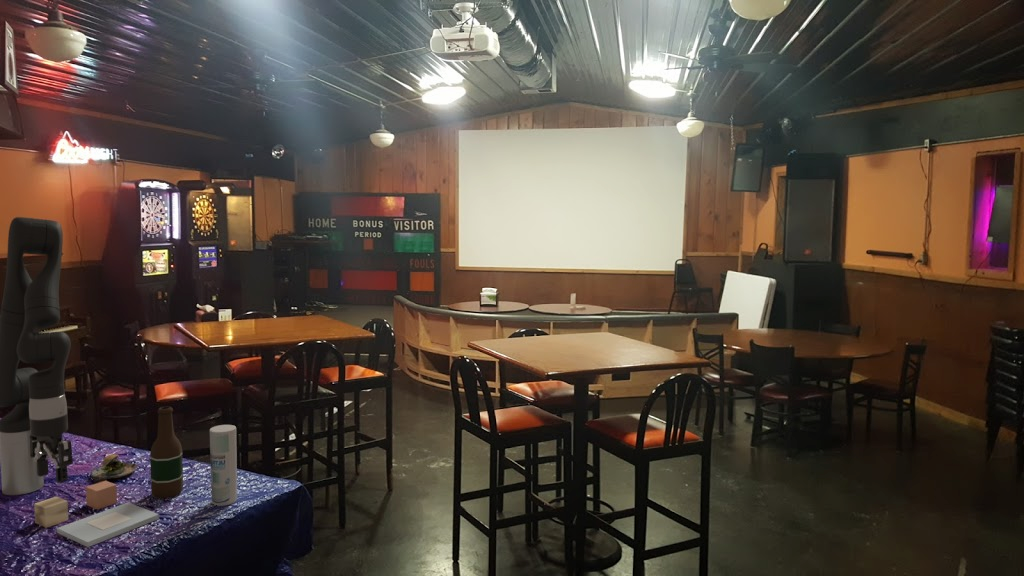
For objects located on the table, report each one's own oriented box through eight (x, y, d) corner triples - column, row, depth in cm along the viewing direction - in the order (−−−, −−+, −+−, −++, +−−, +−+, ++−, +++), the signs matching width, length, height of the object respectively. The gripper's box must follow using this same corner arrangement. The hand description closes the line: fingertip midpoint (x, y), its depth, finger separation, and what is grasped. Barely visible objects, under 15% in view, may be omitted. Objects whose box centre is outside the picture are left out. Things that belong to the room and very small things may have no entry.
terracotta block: (86, 505, 172) (85, 486, 171) (106, 498, 176) (105, 480, 176) (97, 509, 170) (96, 491, 169) (117, 502, 174) (116, 484, 173)
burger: (103, 486, 184) (102, 460, 184) (82, 477, 190) (81, 452, 190) (146, 473, 194) (145, 448, 194) (124, 464, 201) (123, 440, 200)
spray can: (242, 497, 179) (241, 425, 177) (227, 507, 173) (226, 433, 171) (221, 494, 180) (219, 423, 178) (205, 504, 174) (204, 430, 172)
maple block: (35, 523, 162) (34, 503, 161) (57, 515, 166) (56, 496, 165) (46, 528, 159) (45, 508, 159) (68, 520, 163) (67, 500, 163)
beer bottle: (169, 500, 176) (167, 412, 173) (144, 497, 177) (141, 410, 175) (189, 489, 183) (187, 405, 181) (165, 486, 185) (162, 402, 182)
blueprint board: (57, 532, 157) (57, 527, 157) (128, 506, 171) (128, 502, 171) (87, 547, 150) (87, 541, 150) (158, 518, 165) (158, 513, 165)
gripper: (81, 414, 160) (85, 478, 161) (49, 406, 167) (53, 468, 168) (47, 422, 153) (51, 489, 155) (15, 413, 160) (19, 478, 162)
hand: (52, 478), depth 162 cm, fingers open, 8 cm apart
